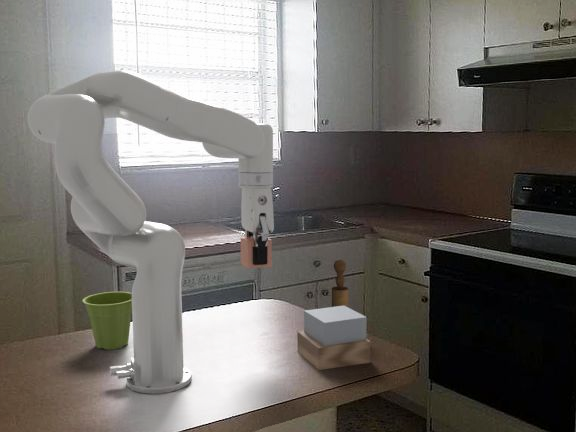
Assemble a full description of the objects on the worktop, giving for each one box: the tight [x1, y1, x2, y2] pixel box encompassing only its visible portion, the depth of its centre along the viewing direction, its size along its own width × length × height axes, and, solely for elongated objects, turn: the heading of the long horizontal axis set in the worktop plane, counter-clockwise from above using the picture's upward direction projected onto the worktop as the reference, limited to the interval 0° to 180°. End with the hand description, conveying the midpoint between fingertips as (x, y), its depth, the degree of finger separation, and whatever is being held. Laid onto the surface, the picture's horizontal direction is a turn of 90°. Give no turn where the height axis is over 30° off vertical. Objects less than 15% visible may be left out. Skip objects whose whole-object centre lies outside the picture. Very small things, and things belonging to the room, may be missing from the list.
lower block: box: [296, 330, 372, 371], centre depth 144 cm, size 12×12×5 cm
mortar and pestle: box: [331, 259, 349, 308], centre depth 160 cm, size 7×6×18 cm
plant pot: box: [82, 291, 132, 351], centre depth 152 cm, size 12×12×11 cm
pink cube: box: [240, 236, 273, 269], centre depth 147 cm, size 6×6×6 cm
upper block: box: [303, 306, 368, 346], centre depth 144 cm, size 10×10×5 cm
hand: (255, 260), depth 147 cm, fingers closed on pink cube, 5 cm apart
